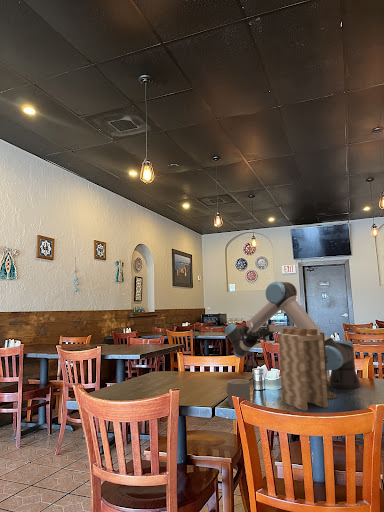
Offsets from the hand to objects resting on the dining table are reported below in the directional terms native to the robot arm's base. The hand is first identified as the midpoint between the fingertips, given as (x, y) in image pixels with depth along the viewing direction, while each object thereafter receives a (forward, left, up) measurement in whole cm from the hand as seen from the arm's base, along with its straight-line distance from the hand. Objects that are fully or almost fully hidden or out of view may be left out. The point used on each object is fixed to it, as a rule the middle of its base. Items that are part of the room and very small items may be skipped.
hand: (263, 323), depth 204 cm
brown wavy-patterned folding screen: (-16, +28, -33) cm, 46 cm away
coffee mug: (+13, +28, -34) cm, 46 cm away
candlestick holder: (-27, +14, -34) cm, 45 cm away
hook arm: (-9, +15, -4) cm, 18 cm away
